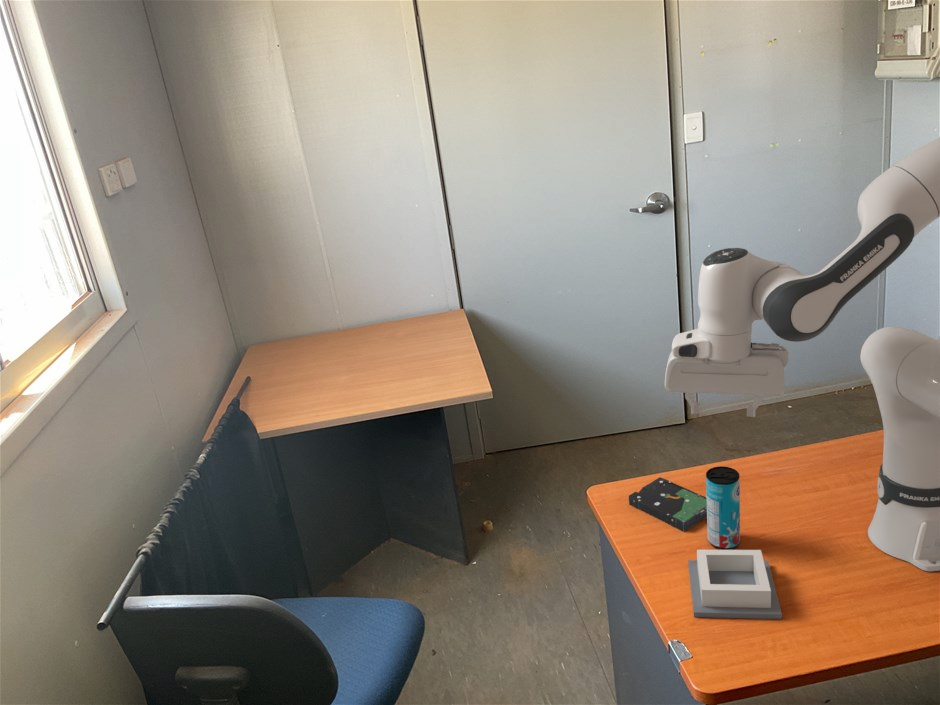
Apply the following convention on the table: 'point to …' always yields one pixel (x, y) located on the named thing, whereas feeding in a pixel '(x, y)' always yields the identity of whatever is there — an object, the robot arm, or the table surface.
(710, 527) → the beverage can
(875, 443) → the table surface
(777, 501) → the table surface
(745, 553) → the can holder
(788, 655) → the table surface
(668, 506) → the disk drive
